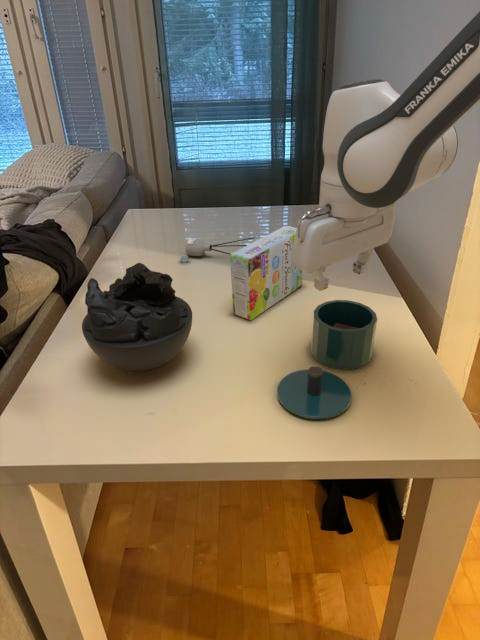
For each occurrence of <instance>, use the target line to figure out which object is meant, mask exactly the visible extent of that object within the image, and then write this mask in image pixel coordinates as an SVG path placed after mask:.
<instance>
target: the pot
mask: <svg viewBox="0 0 480 640" xmlns="http://www.w3.org/2000/svg"><path fill="white" fill-rule="evenodd" d="M335 323H340V324H344V325H348V326H352V327H356V328H358V329H340V328H336V327H333V326H334V325H335ZM377 325H378V317H377V313H376V312H375V311H374V310H373V309H372V308H371V307H370V306H368V305H366V304H364V303H361V302H357V301H354V300H349V299H335V300H328V301H325V302H323V303H320V304H318V305H317V306H316V307H315V308H314V309H313V315H312V328H311V331H312V332H311V343H310V345H311V346H310V348H311V350H310V351H311V354H312V356H313V358H314V359H315V360H316V361H317V362H318V363H319V364H322V365H323V366H326V367H328V368H330V369H331V368H332V369H335V370H343V371H344V370H345V371H348V370H355V369H356V370H357V369H359V368H362V367H364V366H366V365H367V364H368V363H369V362H370V360H371V358H372V355H373V351H374V345H375V344H374V343H375V337H376V331H377Z"/></svg>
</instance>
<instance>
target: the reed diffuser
mask: <svg viewBox="0 0 480 640" xmlns="http://www.w3.org/2000/svg"><path fill="white" fill-rule="evenodd" d="M255 238H256V237H250V238H249V237H248V238H244V239H238V240H233V241H228V242H223V243H218V244H217V243H216V244H213V245H212V244H209V243H208V244H206V243H205V241H204V240H202V239H201V238H189V239H187V240H186V243H185V252H186V254H182V255H180V262H182V263H187V262H188V261H189V256H190V257H201V256H203V255H204V254H205V253H206V252H212V251H214V252H219V253H222V254H225V255H228V256H230V254H231V253H230V252H227V251H222V250H218V249H215V248H216V247H217V248H218V247H219V248H220V247H221V248H222V247H223V248H224V247H245V246H247V245H248V244H239V245H238V244H233V245H227V244H232V243H236V242H241V241H242V242H243V241H248V240H253V239H255Z"/></svg>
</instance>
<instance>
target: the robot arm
mask: <svg viewBox="0 0 480 640" xmlns="http://www.w3.org/2000/svg"><path fill="white" fill-rule="evenodd" d="M479 103H480V10H478V12H477V13H476V14H475V15H474V16H473V17H472V19H470V21H469V22H468V23H467V24H466V25H465V26H464V27H463V28H462V29H461V30H460V31H459V32H458V33H457V34H456V35H455V36H454V37H453V38H452V39H451V40H450V42H449V43H448V44H447V45H446V46H445V47H444V48H443V49H442V50H441V51H440V52H439V54H437V56H435V58H434V59H433V60H432V61H431V62H430V63H429V64H428V65H427V66H426V67H425V68H424V69H423V70H422V71H421V72H420V74H419V75H418V76H417V77H416V78H415V79H414V80H413V81H412V83H410V85H409V86H408V87H407V88H405V90H404V91H403V92H402V93H401V94H399V93H398V92H397V91H396V90H395V89H394V88H393V87H392V86H391V84H390V83H389V82H388V81H387V80H384V79H379V78H375V79H368V80H362V81H355V82H351V83H346V84H342V85H340V86H339V87H337V88H336V89H335V90H334V91H332V93H331V95H330V97H329V99H328V103H327V107H326V112H325V118H324V126H323V136H322V153H323V161H324V163H323V168H322V171H321V174H320V183H319V197H318V199H319V200H318V207H316V208H314V209H313V208H312V209H308V210H306V211H304V214H303V216H301V218H300V219H299V220H298V222H297V225H296V228H297V229H296V233H295V238H294V244H293V252H292V263H293V264H294V266H295V267H296V268H298V269H300V270H302V272H304V273H308V274H311V275H312V277H313V282H314V283H313V287H314V289H316V290H317V291H319V292H322V291H324V290H326V289H328V288H329V284H330V283H329V282H330V279H329V278H328V277H325V276H324V274H323V273H325V272H326V270H327V269H326V267H328V266H332V265H334V264H337V263H340V262H341V261H344V260H347V259H349V258H352V257H354V256H357V258H356V261H353V263H352V272H353V273H354V274H357V275H361V274H364V273H366V272H367V267H368V263H369V262H370V260H371V258H372V256H373V254H374V250H375V248H377V247H380V246H382V245H385V244H388V242H389V240H390V239H391V237H392V235H393V230H394V226H395V225H394V224H395V217H396V204H397V203H398V201H399V200H400V199H401V198H403V197H404V196H405V195H406V194H409V193H411V192H413V191H416V190H417V189H419V188H421V187H423V186H424V185H426V184H428V183H430V182H432V181H435V179H437V178H439V177H441V176H442V175H443V174H444V173H446V172H447V171H448V170H449V169H450V168H451V166H452V165H453V163H454V161H455V158H456V156H457V152H458V146H459V138H458V133H457V130H456V128H455V125H457V123H458V122H459V121H460V120H461V119H462V118H463V117H464V116H465V115H467V114H468V113H469V112H470V111H471V110H472V109H473V108H474V107H476V105H478V104H479Z"/></svg>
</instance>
